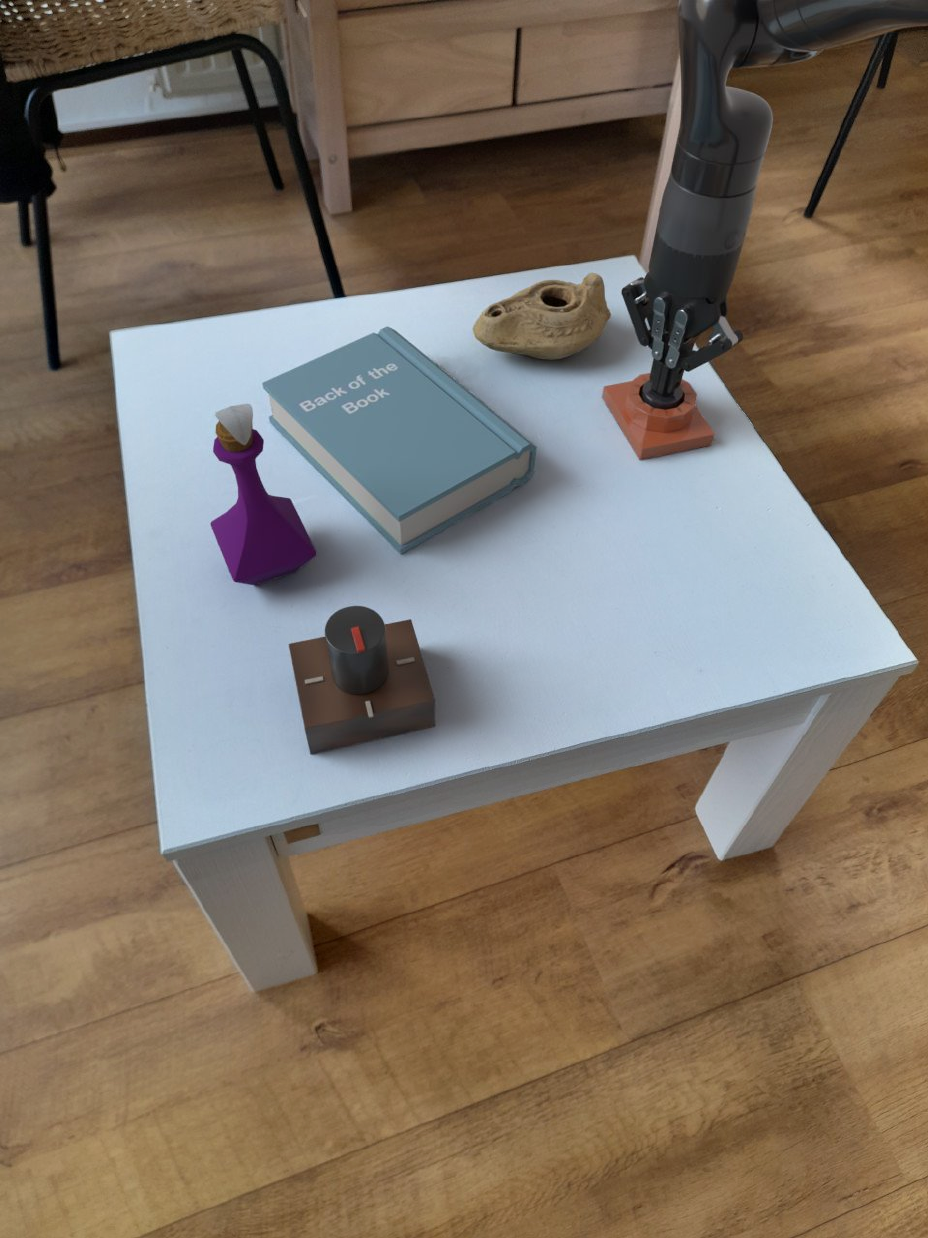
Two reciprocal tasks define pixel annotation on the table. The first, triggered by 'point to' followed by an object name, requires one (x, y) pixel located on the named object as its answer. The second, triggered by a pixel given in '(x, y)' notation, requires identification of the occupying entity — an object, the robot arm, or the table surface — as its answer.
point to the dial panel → (369, 715)
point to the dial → (357, 649)
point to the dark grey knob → (661, 397)
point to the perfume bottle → (255, 509)
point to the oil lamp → (546, 319)
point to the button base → (657, 420)
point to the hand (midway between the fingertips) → (662, 389)
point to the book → (398, 436)
